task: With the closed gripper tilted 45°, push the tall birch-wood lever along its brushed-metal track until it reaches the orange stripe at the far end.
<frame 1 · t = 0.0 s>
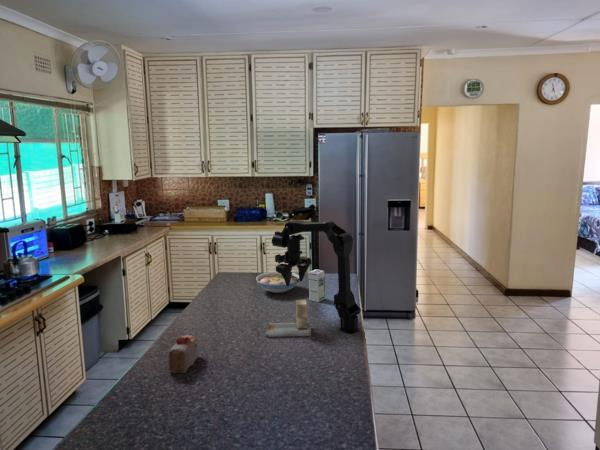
hand: (294, 283, 200), 15 cm above the worktop, tool pointing down, fingers open, 9 cm apart
food item: (185, 364, 160), on the worktop
ramen bowl: (278, 291, 236), on the worktop
syrup box: (316, 299, 222), on the worktop
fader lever: (301, 315, 184), point 7 cm above the worktop, slide at 0.0 cm
fader track: (288, 332, 185), on the worktop
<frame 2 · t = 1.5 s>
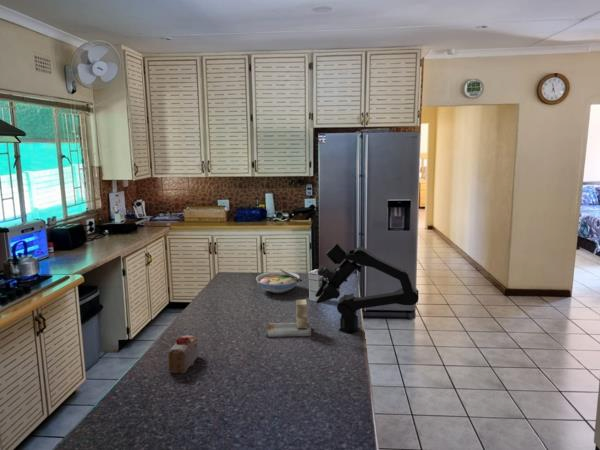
hand: (316, 299, 183), 13 cm above the worktop, tool tilted 45°, fingers open, 7 cm apart
nothing on the worktop moved.
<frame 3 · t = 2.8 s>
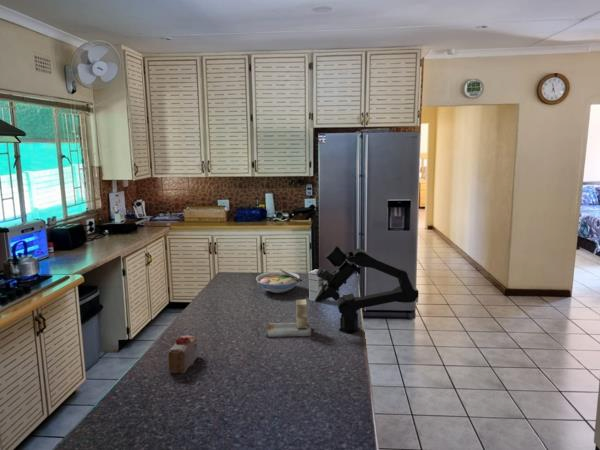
hand: (315, 301, 183), 13 cm above the worktop, tool tilted 45°, fingers closed
nothing on the worktop moved.
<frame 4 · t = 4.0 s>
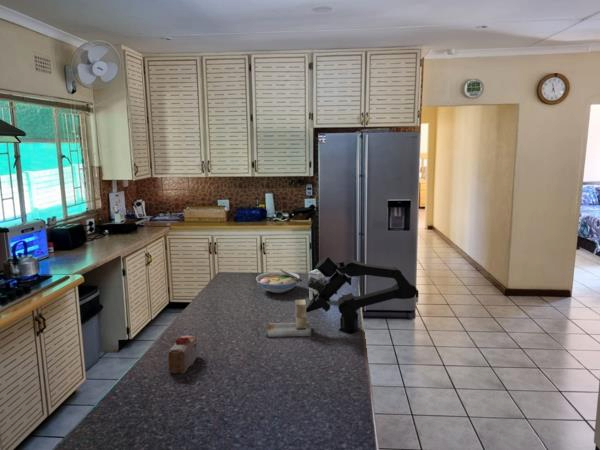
hand: (306, 311, 183), 9 cm above the worktop, tool tilted 45°, fingers closed, pressing on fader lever
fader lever: (300, 315, 184), point 7 cm above the worktop, slide at 0.3 cm, touching gripper
everything else where it was.
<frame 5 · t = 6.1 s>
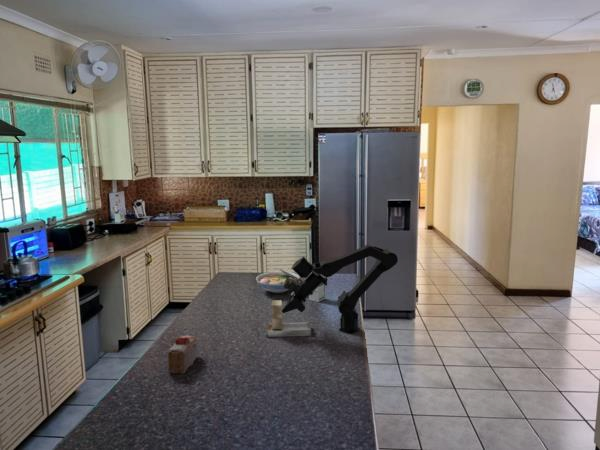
hand: (282, 312, 183), 9 cm above the worktop, tool tilted 45°, fingers closed, pressing on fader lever
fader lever: (277, 316, 183), point 7 cm above the worktop, slide at 10.0 cm, touching gripper
everything else where it was.
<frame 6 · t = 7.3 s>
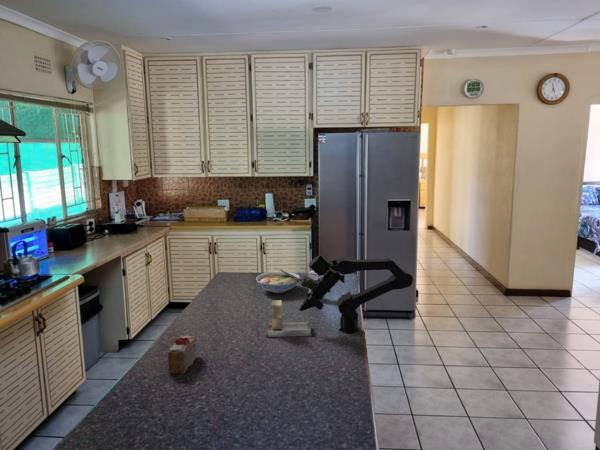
hand: (300, 310, 183), 9 cm above the worktop, tool tilted 45°, fingers closed
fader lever: (277, 316, 183), point 7 cm above the worktop, slide at 10.0 cm
everything else where it was.
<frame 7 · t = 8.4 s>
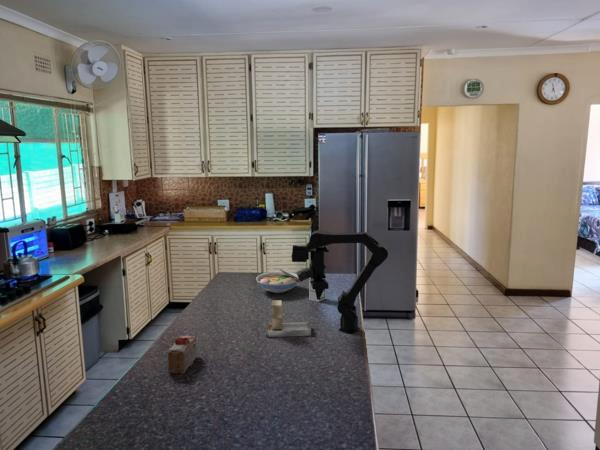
hand: (318, 299, 185), 13 cm above the worktop, tool pointing down, fingers closed
nothing on the worktop moved.
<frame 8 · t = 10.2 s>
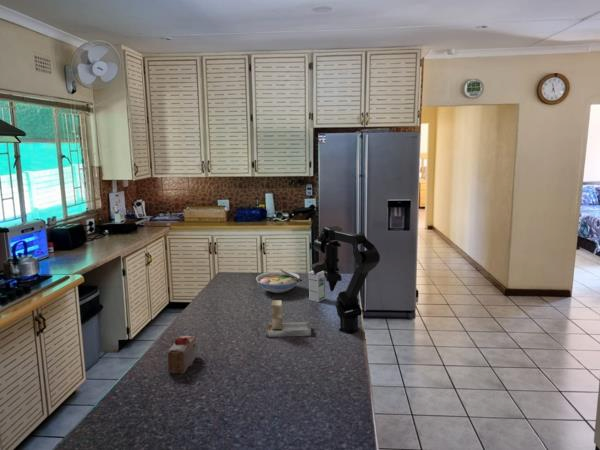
hand: (331, 291, 194), 13 cm above the worktop, tool pointing down, fingers closed
nothing on the worktop moved.
at the end: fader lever slide at 10.0 cm; the gripper is holding nothing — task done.
